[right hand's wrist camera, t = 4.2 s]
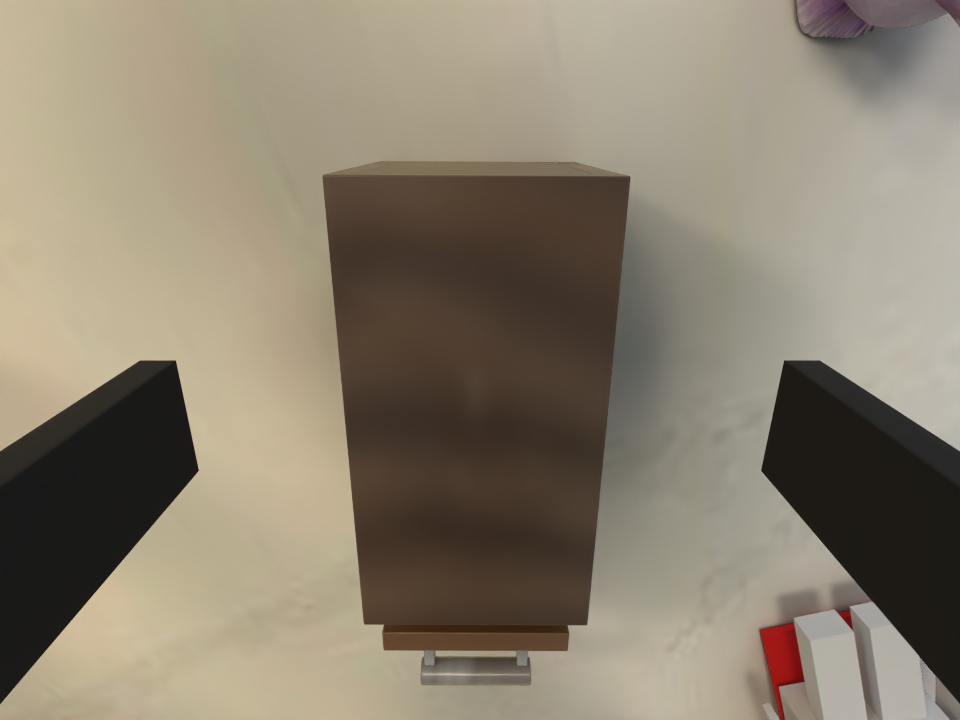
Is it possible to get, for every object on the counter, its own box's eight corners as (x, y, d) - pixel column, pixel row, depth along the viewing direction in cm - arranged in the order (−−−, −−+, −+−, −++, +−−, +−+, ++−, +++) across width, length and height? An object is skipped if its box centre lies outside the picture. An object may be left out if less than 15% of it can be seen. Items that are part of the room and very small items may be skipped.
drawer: (542, 594, 40) (561, 728, 31) (410, 593, 40) (389, 728, 31) (563, 244, 31) (597, 289, 22) (392, 244, 31) (355, 287, 22)
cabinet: (556, 483, 38) (587, 625, 27) (397, 482, 37) (363, 624, 27) (576, 162, 30) (630, 176, 19) (379, 161, 30) (321, 174, 19)
